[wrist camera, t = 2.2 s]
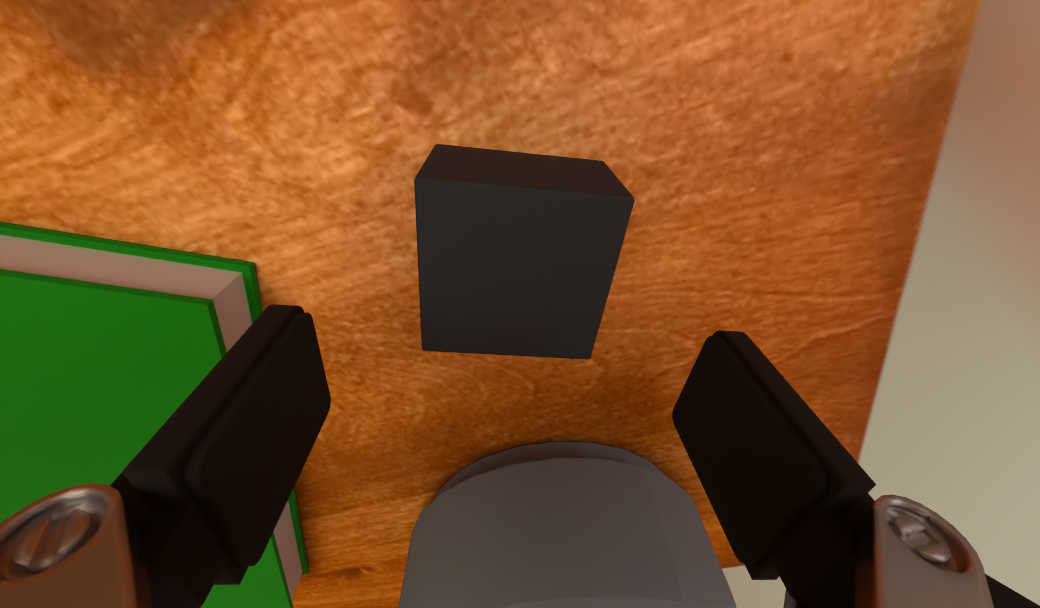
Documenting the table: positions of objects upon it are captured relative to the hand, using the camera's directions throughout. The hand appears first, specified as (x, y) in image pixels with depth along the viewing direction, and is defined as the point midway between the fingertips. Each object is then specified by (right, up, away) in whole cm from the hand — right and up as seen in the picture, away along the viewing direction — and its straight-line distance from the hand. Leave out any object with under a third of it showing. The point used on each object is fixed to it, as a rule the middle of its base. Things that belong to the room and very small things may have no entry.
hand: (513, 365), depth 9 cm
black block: (0, +4, +6) cm, 7 cm away
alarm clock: (+2, -14, +19) cm, 24 cm away
